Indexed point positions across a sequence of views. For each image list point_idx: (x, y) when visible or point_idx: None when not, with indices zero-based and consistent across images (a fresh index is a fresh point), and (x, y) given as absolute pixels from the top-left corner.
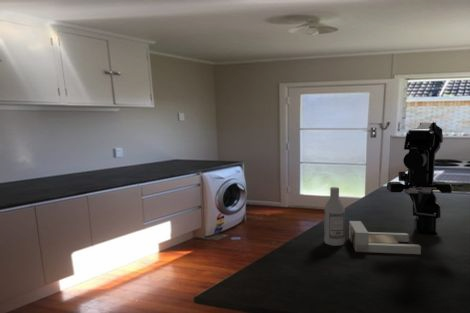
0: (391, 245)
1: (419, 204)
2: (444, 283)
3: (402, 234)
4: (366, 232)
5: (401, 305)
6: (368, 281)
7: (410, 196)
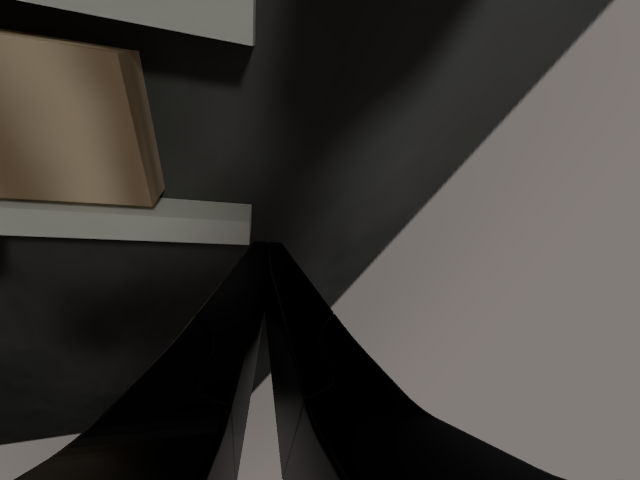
0: (110, 237)
1: (271, 361)
2: None
3: (207, 28)
4: None
5: None
6: (59, 381)
7: (103, 441)
